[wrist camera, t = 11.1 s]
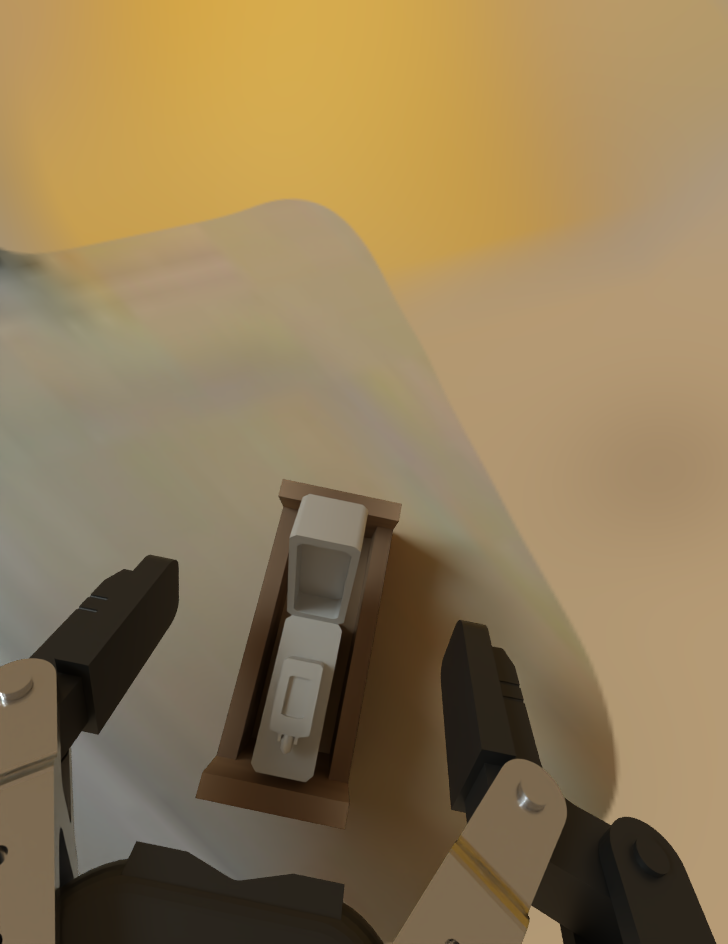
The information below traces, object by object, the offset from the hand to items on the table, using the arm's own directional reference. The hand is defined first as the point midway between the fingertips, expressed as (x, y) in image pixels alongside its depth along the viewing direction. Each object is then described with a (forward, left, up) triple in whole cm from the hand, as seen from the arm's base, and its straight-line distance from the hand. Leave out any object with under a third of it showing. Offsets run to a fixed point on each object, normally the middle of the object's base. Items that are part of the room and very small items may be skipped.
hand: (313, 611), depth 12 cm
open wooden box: (0, -1, -6) cm, 6 cm away
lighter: (0, -1, -5) cm, 6 cm away
